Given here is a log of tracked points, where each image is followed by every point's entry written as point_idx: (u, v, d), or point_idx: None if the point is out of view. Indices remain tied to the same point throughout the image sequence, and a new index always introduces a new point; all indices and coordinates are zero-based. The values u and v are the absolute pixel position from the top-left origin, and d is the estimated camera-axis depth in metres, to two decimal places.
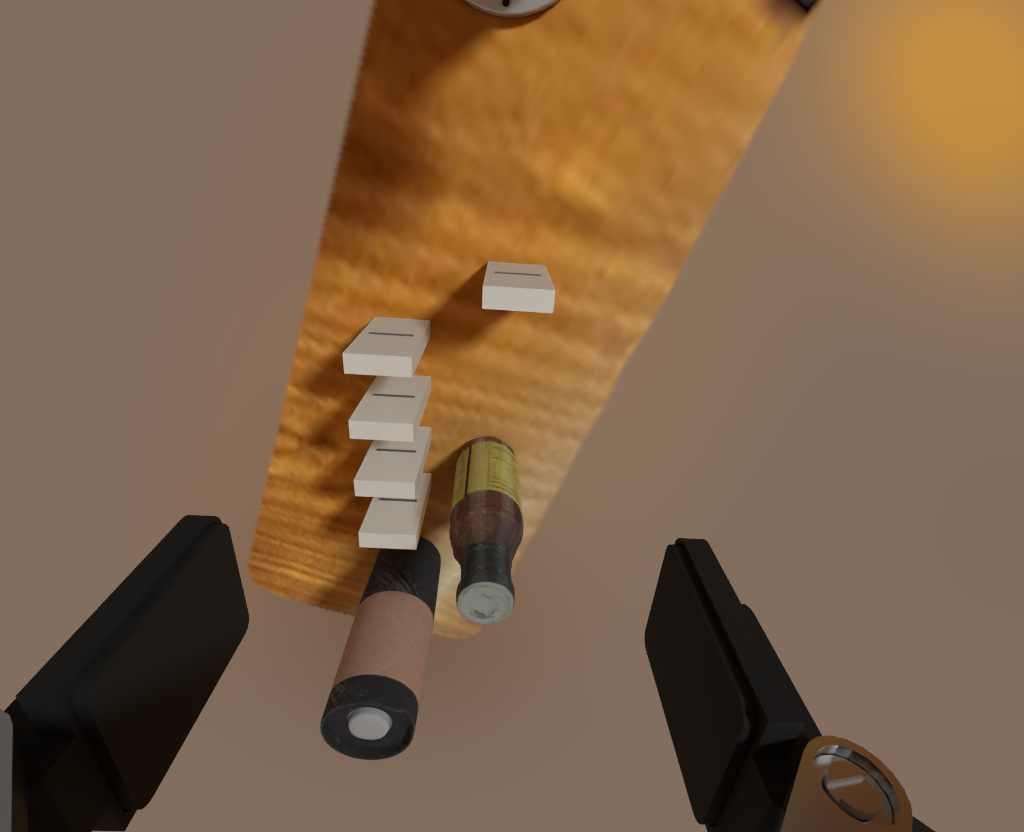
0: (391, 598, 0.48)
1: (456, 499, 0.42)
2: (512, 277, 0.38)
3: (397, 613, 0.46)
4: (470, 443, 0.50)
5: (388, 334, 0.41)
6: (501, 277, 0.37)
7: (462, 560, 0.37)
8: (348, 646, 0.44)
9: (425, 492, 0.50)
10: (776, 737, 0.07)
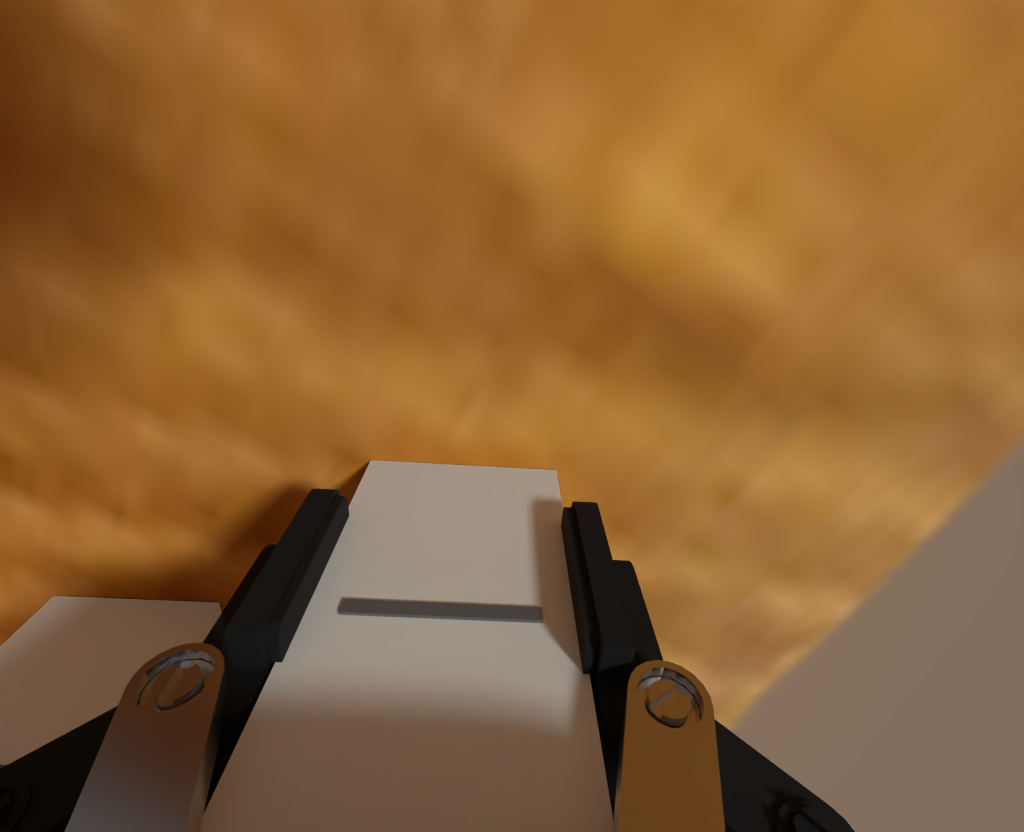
0: None
1: None
2: (403, 687, 0.08)
3: None
4: None
5: None
6: (344, 698, 0.07)
7: None
8: None
9: None
10: (613, 662, 0.08)
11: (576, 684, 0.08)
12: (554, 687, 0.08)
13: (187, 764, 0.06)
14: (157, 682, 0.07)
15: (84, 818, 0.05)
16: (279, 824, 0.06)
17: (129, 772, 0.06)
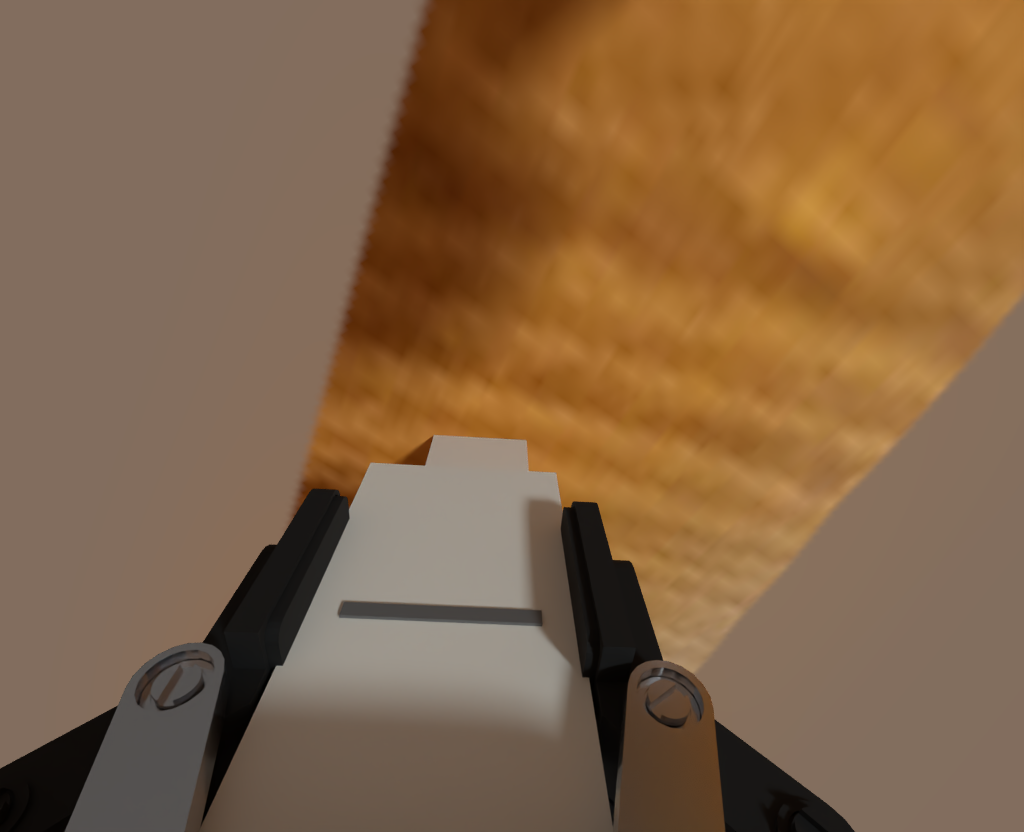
0: None
1: None
2: (403, 690, 0.08)
3: None
4: None
5: None
6: (345, 701, 0.08)
7: None
8: None
9: None
10: (614, 662, 0.08)
11: (575, 687, 0.08)
12: (553, 690, 0.08)
13: (187, 764, 0.06)
14: (157, 682, 0.07)
15: (84, 818, 0.05)
16: (280, 827, 0.06)
17: (129, 772, 0.06)
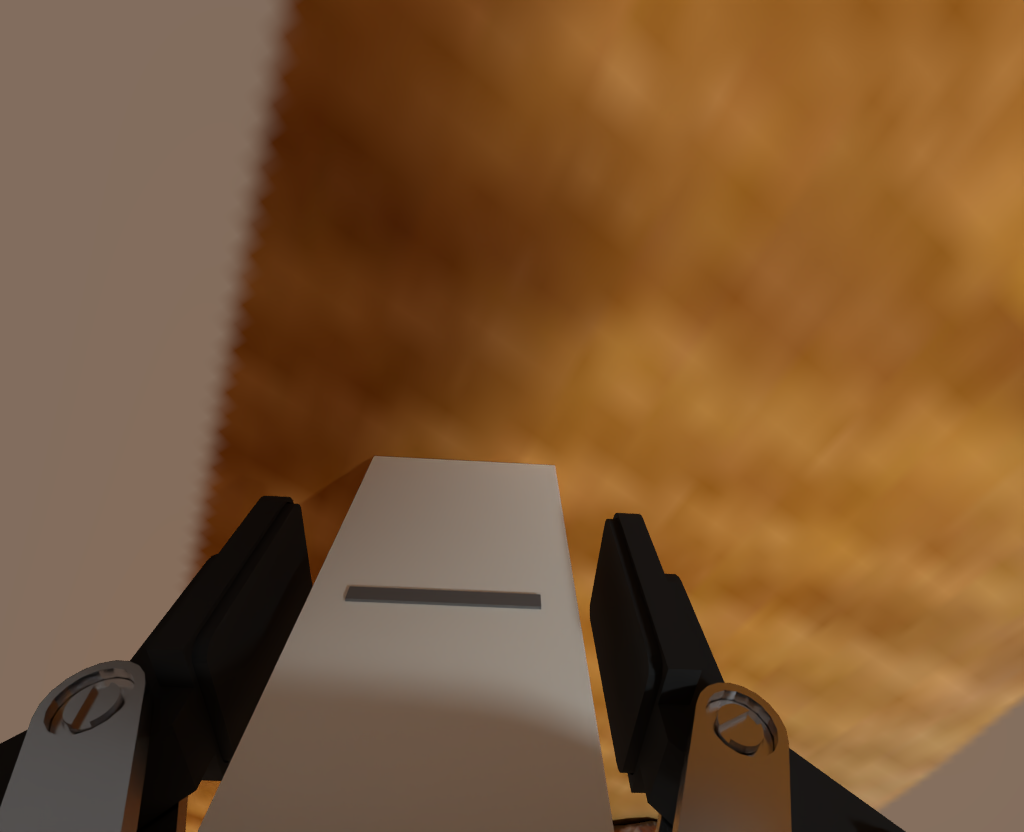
0: None
1: None
2: (407, 668, 0.08)
3: None
4: None
5: None
6: (352, 678, 0.08)
7: None
8: None
9: None
10: (677, 684, 0.08)
11: (573, 666, 0.08)
12: (552, 668, 0.08)
13: (114, 780, 0.06)
14: (69, 707, 0.07)
15: None
16: (292, 792, 0.06)
17: (47, 799, 0.06)
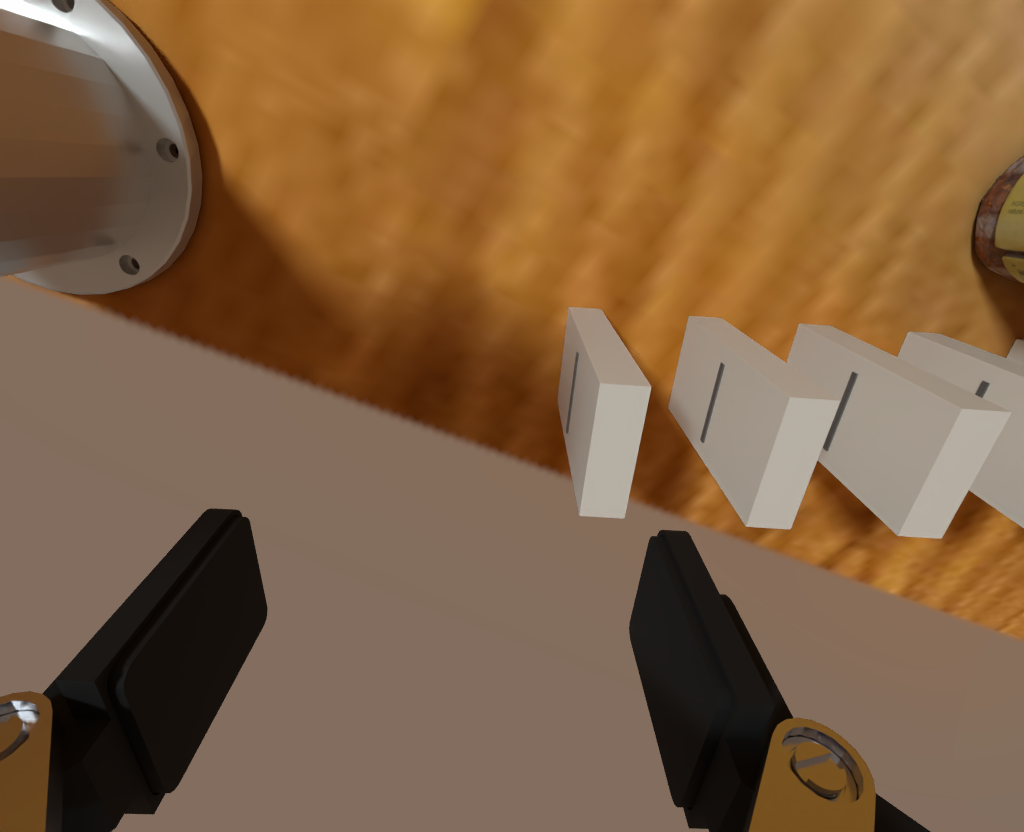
0: None
1: None
2: (575, 418, 0.20)
3: None
4: (985, 250, 0.22)
5: (711, 409, 0.21)
6: (573, 439, 0.20)
7: None
8: None
9: None
10: (748, 719, 0.07)
11: (583, 352, 0.19)
12: (582, 362, 0.19)
13: (29, 810, 0.06)
14: None
15: None
16: (576, 467, 0.19)
17: None
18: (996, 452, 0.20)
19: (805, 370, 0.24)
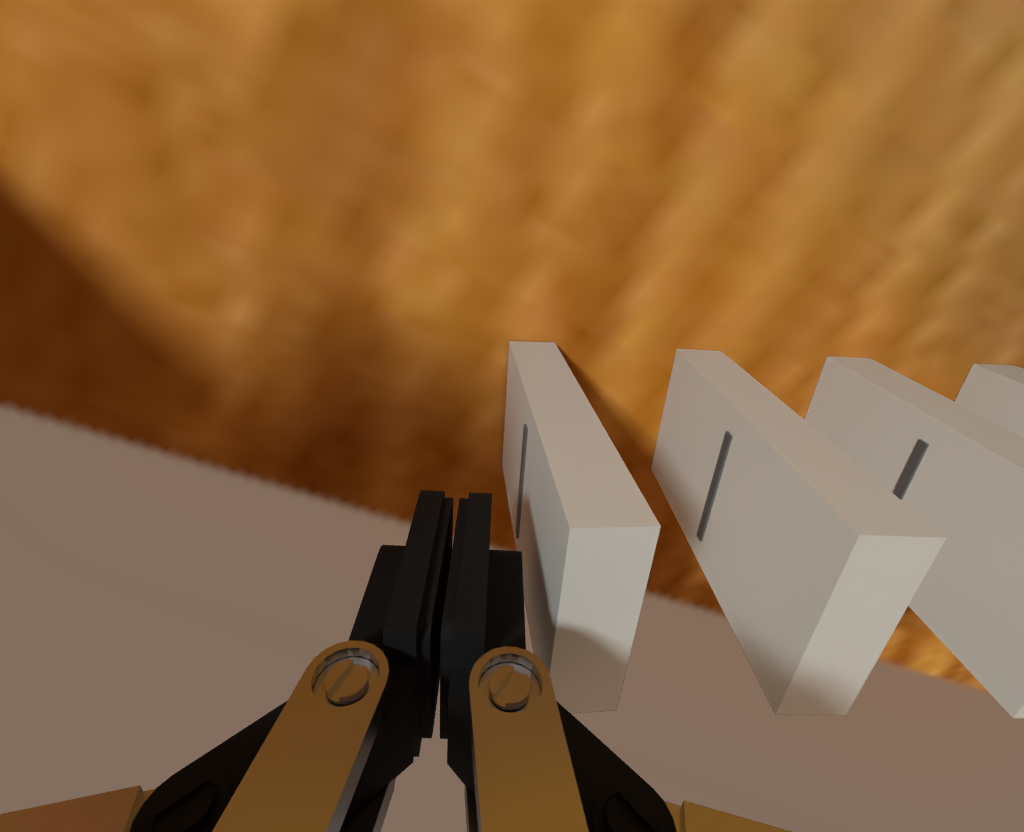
0: None
1: None
2: (528, 530, 0.13)
3: None
4: None
5: (712, 497, 0.14)
6: (527, 560, 0.13)
7: None
8: None
9: None
10: (465, 648, 0.08)
11: (535, 435, 0.12)
12: (535, 449, 0.12)
13: (335, 776, 0.06)
14: (331, 672, 0.07)
15: (247, 793, 0.06)
16: (535, 619, 0.12)
17: (290, 760, 0.06)
18: None
19: (838, 423, 0.17)
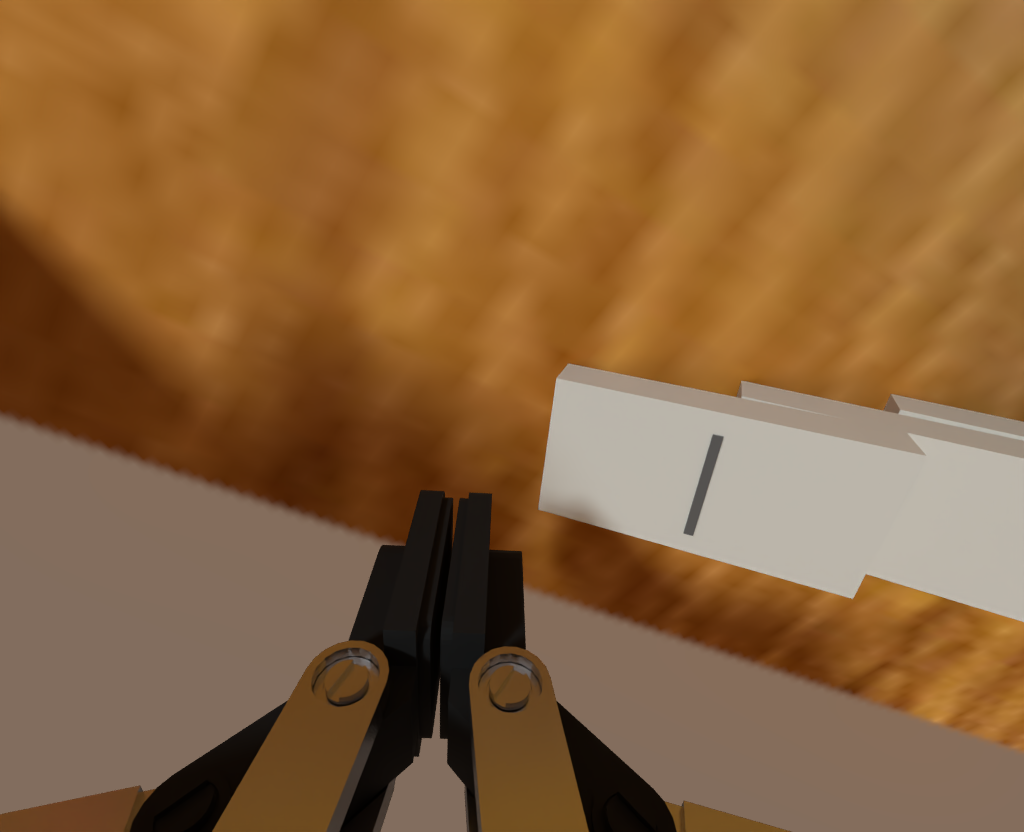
0: None
1: None
2: (749, 511, 0.15)
3: None
4: None
5: None
6: (748, 534, 0.16)
7: None
8: None
9: None
10: (466, 648, 0.08)
11: (772, 431, 0.14)
12: (770, 443, 0.14)
13: (335, 776, 0.06)
14: (331, 672, 0.07)
15: (247, 793, 0.06)
16: (801, 558, 0.15)
17: (290, 760, 0.06)
18: None
19: None
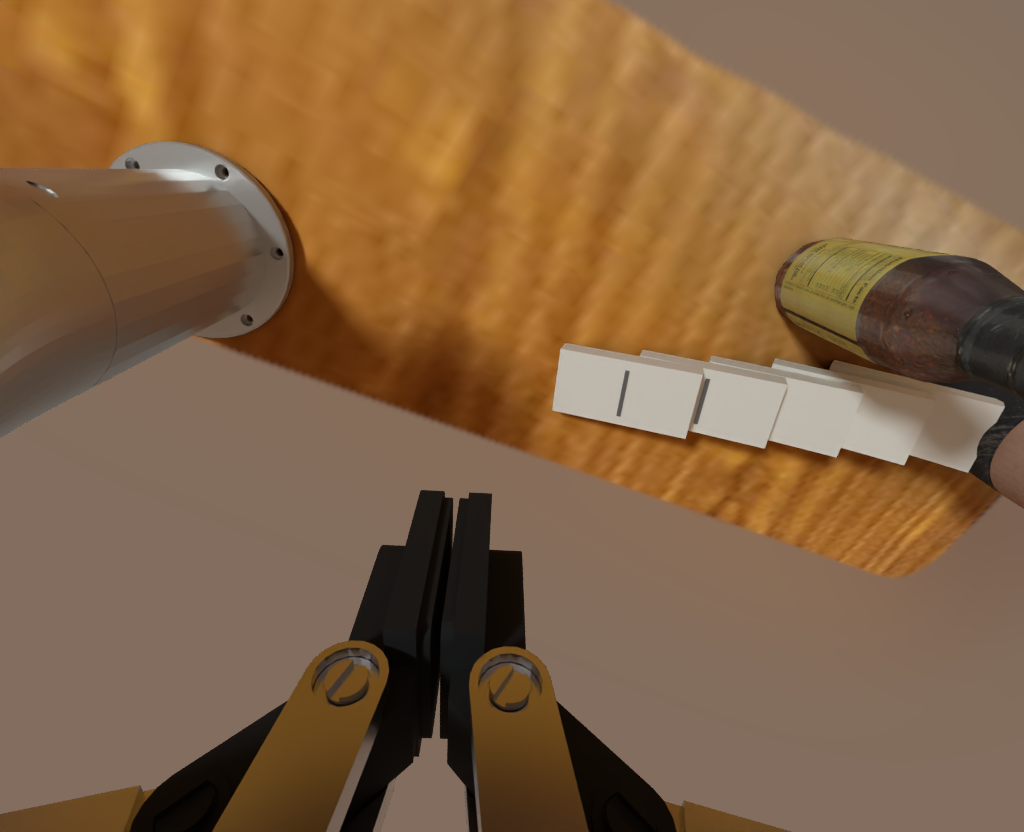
0: (1009, 457, 0.31)
1: (862, 355, 0.28)
2: (642, 403, 0.36)
3: None
4: (780, 307, 0.36)
5: (702, 404, 0.37)
6: (642, 413, 0.37)
7: (981, 381, 0.22)
8: None
9: (885, 379, 0.36)
10: (465, 648, 0.08)
11: (647, 368, 0.35)
12: (647, 372, 0.35)
13: (335, 776, 0.06)
14: (331, 672, 0.07)
15: (247, 793, 0.06)
16: (664, 422, 0.36)
17: (290, 760, 0.06)
18: (861, 426, 0.36)
19: None
